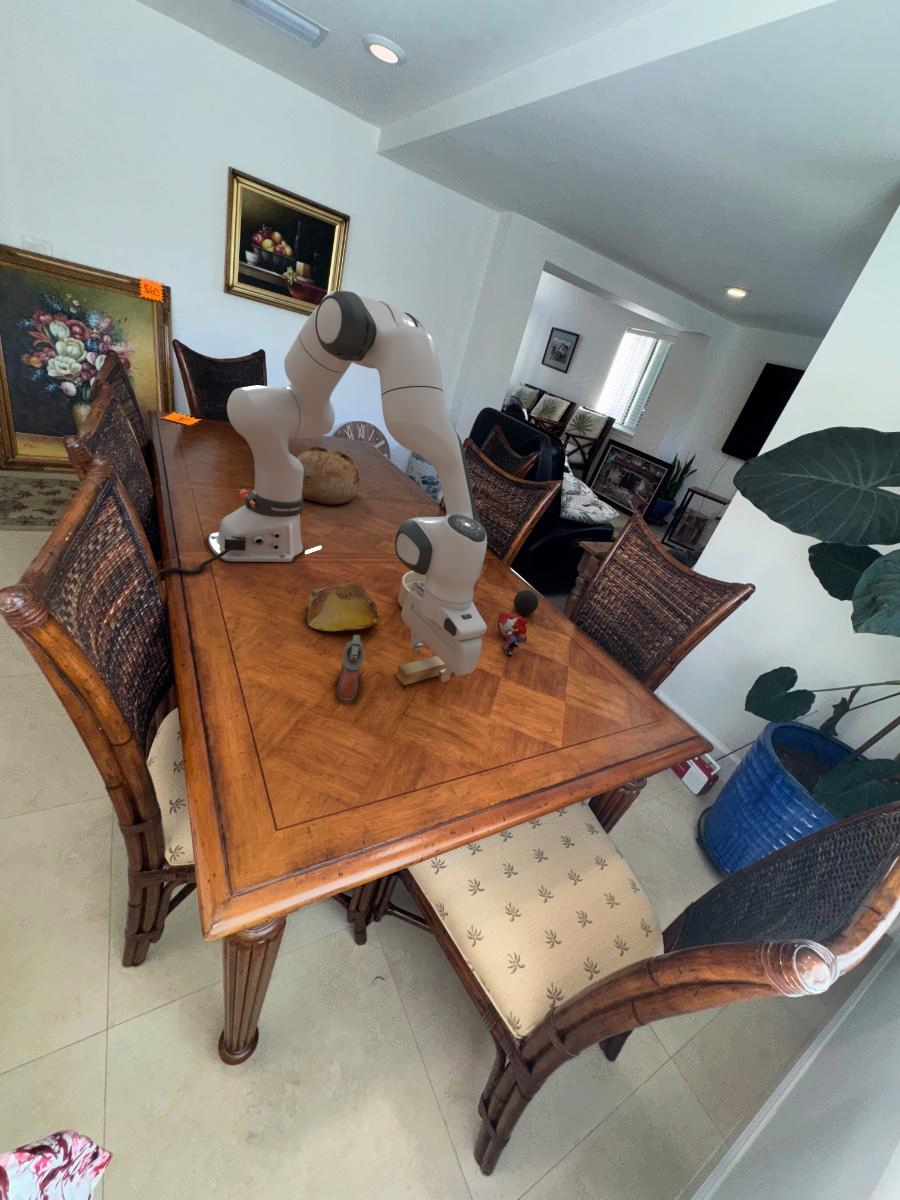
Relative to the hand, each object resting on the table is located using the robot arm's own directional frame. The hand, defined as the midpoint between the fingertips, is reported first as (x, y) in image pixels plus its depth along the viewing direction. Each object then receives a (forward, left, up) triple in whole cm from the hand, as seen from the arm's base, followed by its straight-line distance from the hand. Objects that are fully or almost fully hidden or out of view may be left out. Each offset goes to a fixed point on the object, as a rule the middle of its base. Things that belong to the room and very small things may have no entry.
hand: (429, 664), depth 94 cm
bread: (+21, +95, -3) cm, 98 cm away
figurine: (+26, +2, -3) cm, 26 cm away
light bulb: (+41, +13, -3) cm, 43 cm away
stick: (0, 0, -3) cm, 3 cm away
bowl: (+16, +21, -3) cm, 27 cm away
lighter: (-16, +2, -3) cm, 16 cm away
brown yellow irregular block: (-7, +23, -3) cm, 24 cm away
